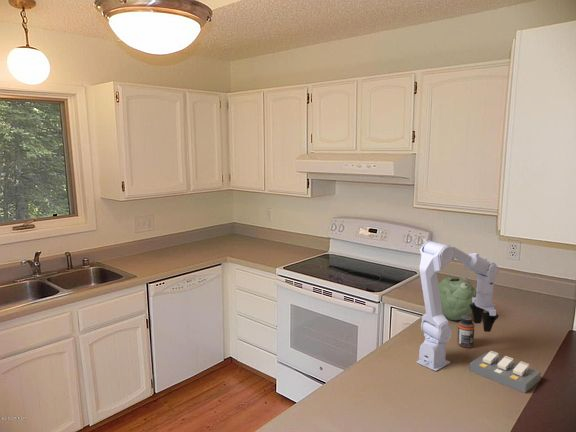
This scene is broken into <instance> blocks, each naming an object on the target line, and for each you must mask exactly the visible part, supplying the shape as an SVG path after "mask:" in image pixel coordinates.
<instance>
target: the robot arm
mask: <svg viewBox="0 0 576 432" xmlns="http://www.w3.org/2000/svg"><path fill="white" fill-rule="evenodd" d="M419 253H420V262H419V276H420V282H421V288H422V294H423V295H422V296H423V301H424V303H423V304H424V309H425V313H424V314H423V315H422V316H421V324H420V329H421V331H422V333H423V336H424V341H423V342H422V343H421V344H420V346H419V352H418V360H417V361H416V363H417V364H418V365H421V366H423V367H425V368H428V369H430V370H433V371H435V372H437V371H438V370H441V369H443V368H444V367H446V366H448V365H449V364H451V361H449V360H448V359H446V354H447V343H448V342H449V340H450V339H452V338H451V337H452V334H453V330H452V328H451V325H450V323H449V321H448V320H449V319H448V318H446V317H445V316H444V315H443V313H442V306H441V299H440V292H439V285H438V283H439V278H438V273H439V272H440V271H442V270H443V269H444V268H445V267H446V266H448V264H450V263H451V261H454V260H457V261H459V262H462V264H463V267H465V268H466V269H468V270H470V271H471V272H472V271H473V272H474V273H475V274H477V277H476V288H475V290H476V297H473V298H472V302H473V304H470V308H471V310H472V312H471V313H472V319H473V321H474V322H473V324H481V323H482V321H483V331H484V333H485V332H486V333H489V332H492V329H493V326H494V323H495V321H496V320H497V319H498V318H499V315H498V314H497V310H496V308H495V307H496V303H494V302H493V301H494V287H495V282H496V281H497V280H496V279H497V277H498V274H499V271H500V269H499V267H498V265H497V264H496V263H495V262H492V261H488V259H487V258H485V257H481V256H480V254H479V253H476V252H473V253H466V252H464V251H462V250H461V249H458V247H455V246H452V245H449V244H443V243H439V242H437V241H436V242H435V241H433V240H427V241H425V242H424V243H423V245H422V246H421V248H420V249H419ZM484 311H485V312H484Z"/></svg>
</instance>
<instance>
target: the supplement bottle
mask: <svg viewBox="0 0 576 432" xmlns="http://www.w3.org/2000/svg"><path fill="white" fill-rule="evenodd" d="M457 345H458V346H460V347H462V348H467V349H470V348H473V347H474V345H475V323H474V322H473V317H471V316H470V315H468V316H462V317H461V320H459V321H458V323H457Z"/></svg>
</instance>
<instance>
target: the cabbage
mask: <svg viewBox="0 0 576 432" xmlns="http://www.w3.org/2000/svg"><path fill="white" fill-rule="evenodd" d="M438 285H439V292H440V299H441V306H442V313H443V315H444V316H445V318H446V319H447V320H450V321H461V317H462V316H470V315H471V313H472V310H471V308H470V304H473V302H472V298H473V297H476V288H475V287H474V286H473V285H474V284H473V283H472V282H470V281H469V278H468V277H466V276H463V277H450V276H447V277H445V278H443V279H441V281H440V282H439V281H438Z"/></svg>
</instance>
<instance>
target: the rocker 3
mask: <svg viewBox="0 0 576 432" xmlns="http://www.w3.org/2000/svg"><path fill="white" fill-rule="evenodd" d="M517 364H518V365H517V366H516V367H515V368H514V369H513V373H515V374H517V375H520V376H522V375H523V374H524V373H525V372H526V370H527V369H528V368H530V363H527V362H524V361H522V360H521V361H519V363H517Z"/></svg>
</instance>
